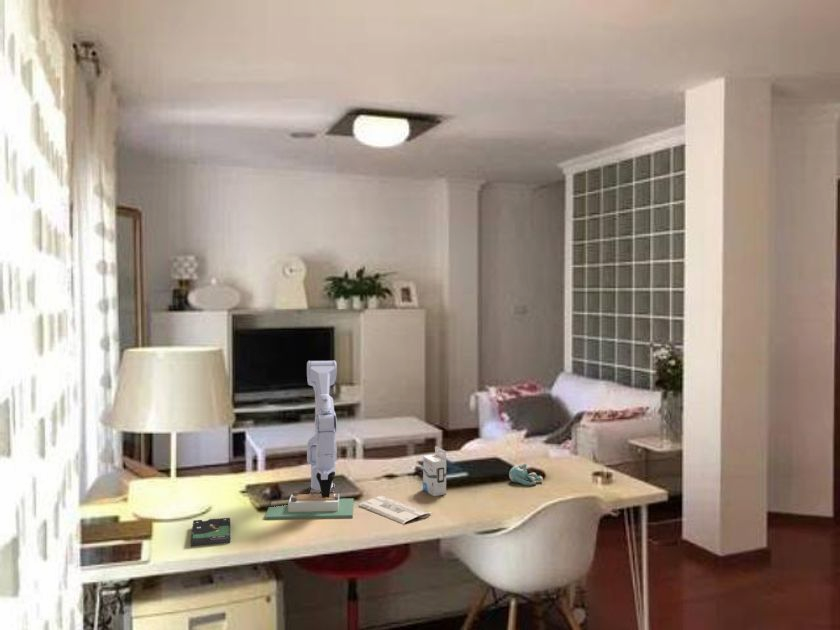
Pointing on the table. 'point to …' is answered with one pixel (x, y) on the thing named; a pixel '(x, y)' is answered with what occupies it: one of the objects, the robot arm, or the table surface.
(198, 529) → the disk drive
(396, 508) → the newspaper
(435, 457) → the ink box
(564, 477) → the table surface
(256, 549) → the table surface
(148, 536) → the table surface
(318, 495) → the strip
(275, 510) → the board
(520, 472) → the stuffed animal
